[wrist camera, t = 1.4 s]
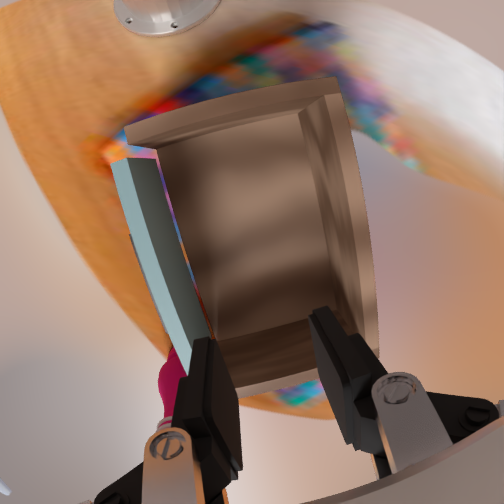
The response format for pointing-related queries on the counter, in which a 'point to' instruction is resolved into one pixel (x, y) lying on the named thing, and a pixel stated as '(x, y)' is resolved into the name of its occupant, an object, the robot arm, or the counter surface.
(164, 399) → the pepper mill
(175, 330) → the panel
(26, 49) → the counter surface
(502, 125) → the counter surface
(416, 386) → the robot arm
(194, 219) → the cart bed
